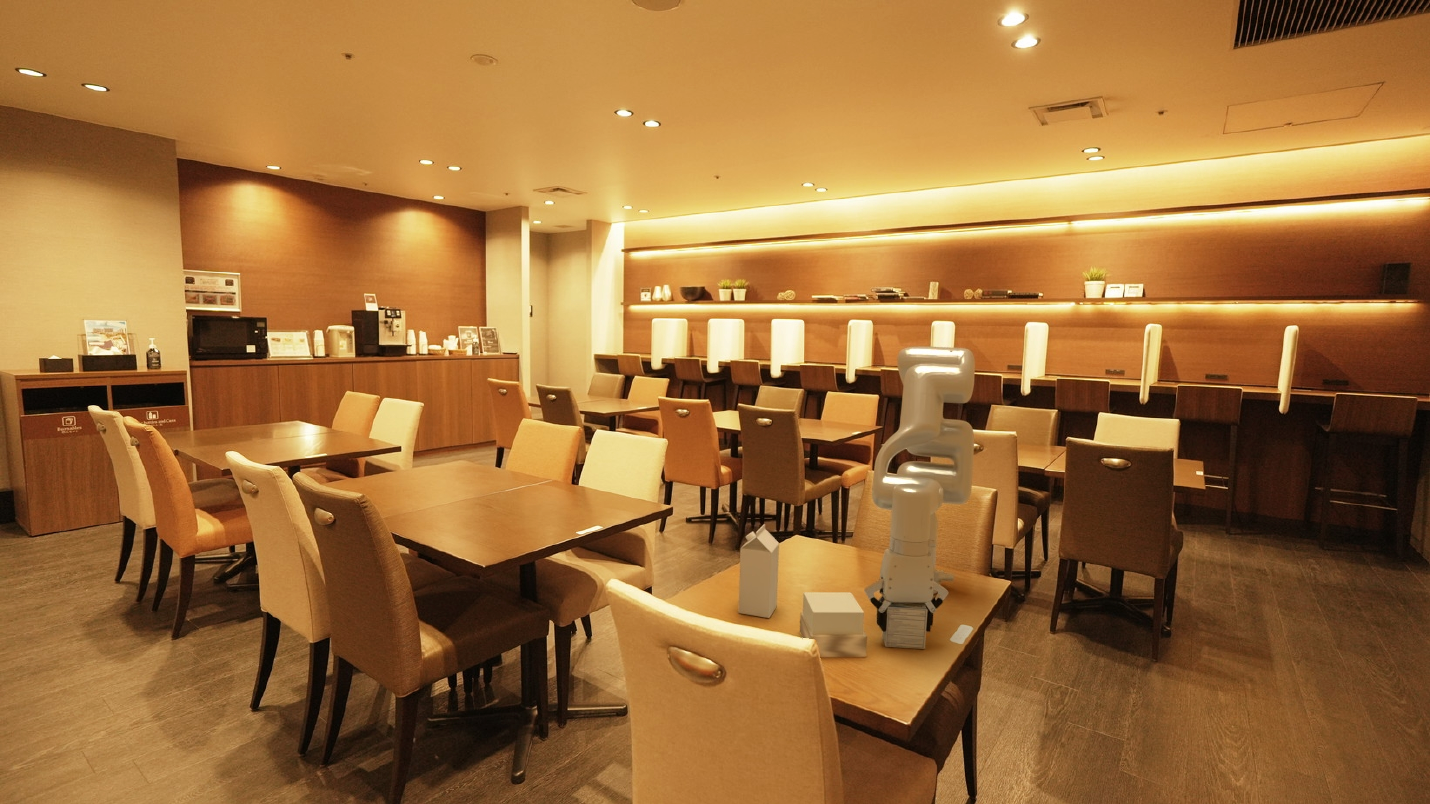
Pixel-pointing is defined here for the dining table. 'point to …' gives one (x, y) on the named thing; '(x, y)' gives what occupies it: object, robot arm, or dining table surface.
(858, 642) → the tower base
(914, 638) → the medicine box
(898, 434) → the robot arm
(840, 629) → the tower top
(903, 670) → the dining table surface
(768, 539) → the milk carton
